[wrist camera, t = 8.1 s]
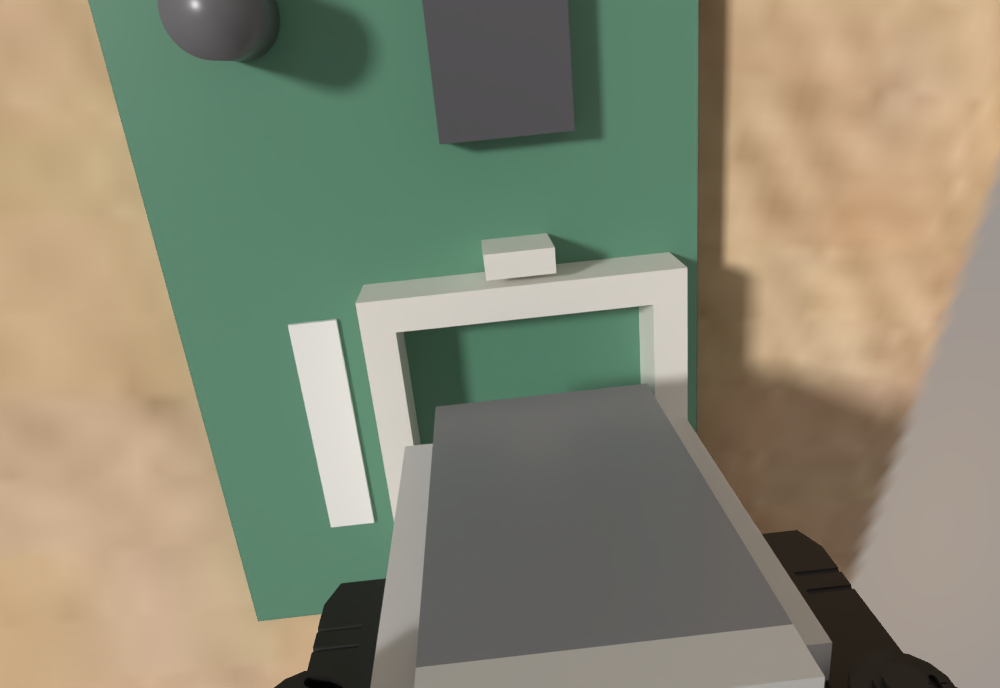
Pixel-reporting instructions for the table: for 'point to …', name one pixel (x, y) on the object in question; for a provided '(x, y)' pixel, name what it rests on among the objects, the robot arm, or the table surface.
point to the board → (404, 234)
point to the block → (588, 556)
